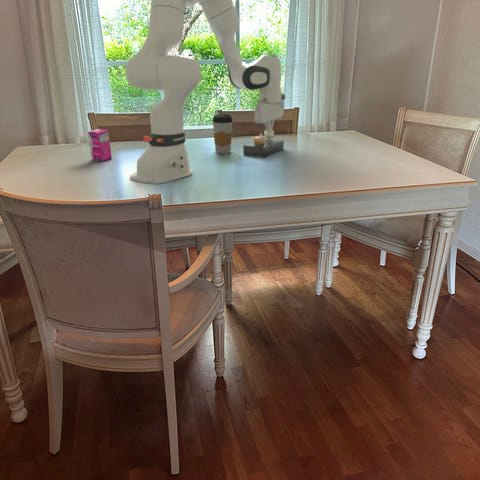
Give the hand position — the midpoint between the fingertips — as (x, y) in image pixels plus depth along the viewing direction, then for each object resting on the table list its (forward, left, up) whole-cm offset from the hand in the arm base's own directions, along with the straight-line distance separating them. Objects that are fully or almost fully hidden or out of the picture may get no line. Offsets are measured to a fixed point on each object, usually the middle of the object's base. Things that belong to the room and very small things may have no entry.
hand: (269, 131), depth 190 cm
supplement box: (-48, +50, -8) cm, 70 cm away
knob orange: (-9, 0, -8) cm, 12 cm away
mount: (-5, 0, -8) cm, 9 cm away
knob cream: (0, 0, -7) cm, 7 cm away
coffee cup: (-13, +15, -8) cm, 21 cm away
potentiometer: (-5, +1, -4) cm, 6 cm away
